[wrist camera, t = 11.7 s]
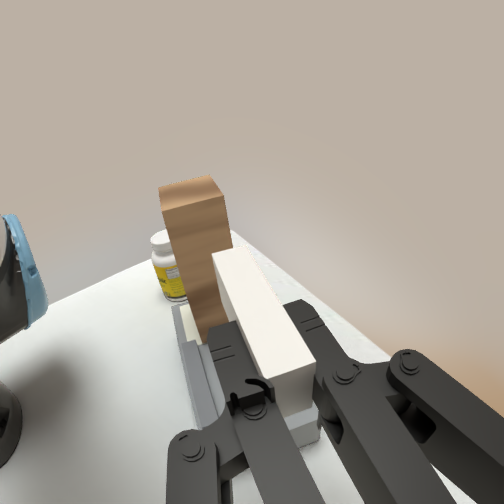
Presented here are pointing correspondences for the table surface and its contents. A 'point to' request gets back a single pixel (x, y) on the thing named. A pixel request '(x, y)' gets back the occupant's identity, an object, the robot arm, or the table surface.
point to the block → (198, 244)
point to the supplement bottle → (167, 267)
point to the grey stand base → (208, 386)
